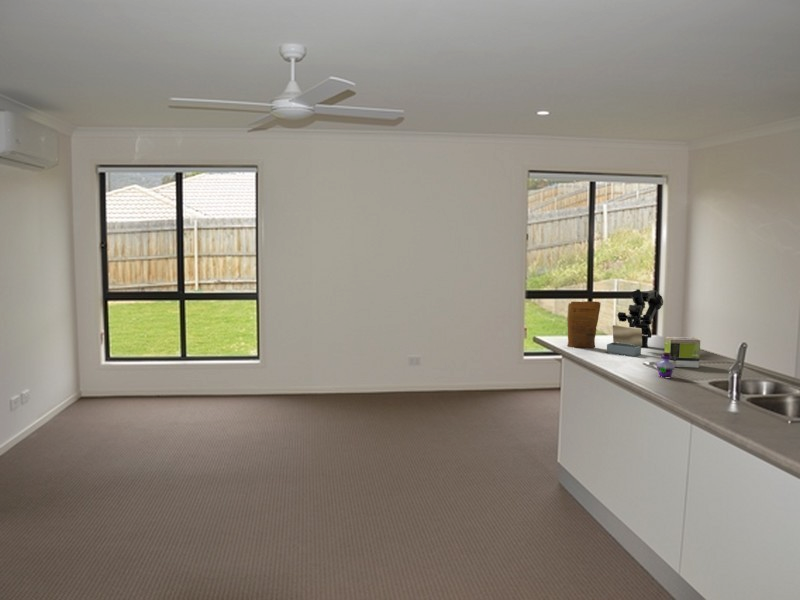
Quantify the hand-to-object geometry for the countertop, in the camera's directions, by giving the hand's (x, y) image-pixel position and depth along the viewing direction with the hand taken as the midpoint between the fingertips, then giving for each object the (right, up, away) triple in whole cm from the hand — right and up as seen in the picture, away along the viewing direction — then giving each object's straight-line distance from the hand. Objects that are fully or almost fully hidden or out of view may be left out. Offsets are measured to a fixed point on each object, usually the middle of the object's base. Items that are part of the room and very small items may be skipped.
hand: (630, 329), depth 367 cm
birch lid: (-3, -4, -3) cm, 6 cm away
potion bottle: (-6, -21, -62) cm, 65 cm away
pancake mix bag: (-25, -12, +12) cm, 30 cm away
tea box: (+14, -18, -34) cm, 41 cm away
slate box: (-6, -14, -5) cm, 16 cm away
